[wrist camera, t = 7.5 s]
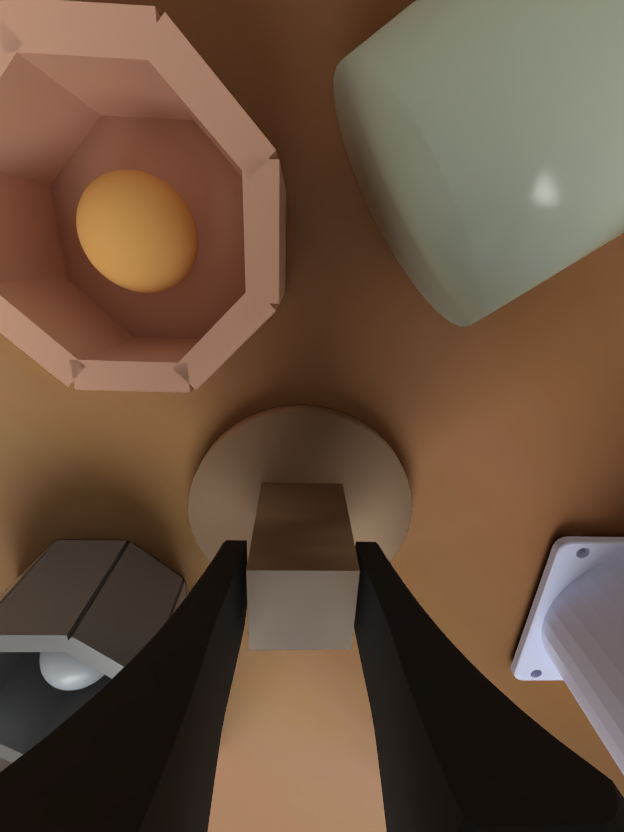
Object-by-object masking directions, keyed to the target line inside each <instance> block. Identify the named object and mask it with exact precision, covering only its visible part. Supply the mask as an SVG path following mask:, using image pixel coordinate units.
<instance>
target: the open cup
mask: <svg viewBox="0 0 624 832" xmlns="http://www.w3.org/2000/svg"><path fill="white" fill-rule="evenodd" d="M115 170H138V171H142V172H145V173H148V174H150V175H153V176H155V177H157V178H159V179H161V180H162V181H164V182H165V183H167V184H168V185H169V186H170V187H172V188H173V189H174V190H175V191H176V192H177V193H178V194H179V195H180V196H181V198H182V199H183V200H184V202H185V203H186V205H187V206H188V208H189V210H190V212H191V214H192V216H193V218H194V221H195V224H196V228H197V233H198V253H197V257H196V260H195V263H194V265H193V267H192V269H191V271H190V272H189V273H188V275H187V276H186V277H185V278H184V279H183V280H182V281H181V282H180V283H179V284H177V285H176V286H174V287H172V288H170V289H167V290H164V291H161V292H155V293H142V292H136V291H131V290H128V289H126V288H123V287H121V286H119V285H117V284H115V283H113V282H112V281H110V280H109V279H107V278H106V277H105V276H104V275H102V274H101V273H100V272H99V271H98V270H97V269H96V268H95V267H94V266H93V264H92V263H91V262H90V260H89V259H88V257H87V256H86V254H85V252H84V250H83V248H82V246H81V243H80V240H79V237H78V233H77V227H76V213H77V207H78V204H79V201H80V198H81V196H82V194H83V192H84V191H85V189H86V188H87V187H88V185H89V184H90V183H91V182H92V181H94V180H95V179H96V178H98V177H100V176H101V175H103V174H105V173H108V172H111V171H115ZM285 292H286V189H285V184H284V179H283V174H282V170H281V165H280V160H279V159H278V156H277V152H276V149H275V148H274V147H273V145H272V144H271V143H270V142H269V140H268V139H267V138H266V137H265V135H264V134H263V133H262V132H261V131H260V129H259V128H258V127H257V126H256V124H255V123H254V122H253V121H252V119H251V118H250V117H249V116H248V114H247V113H246V112H245V111H244V109H243V108H242V107H241V106H240V105H239V103H238V102H237V101H236V100H235V98H234V97H233V96H232V95H231V93H230V92H229V91H228V90H227V88H226V87H225V86H224V85H223V83H222V82H221V81H220V80H219V78H218V77H217V76H216V75H215V74H214V72H213V71H212V70H211V69H210V67H209V66H208V65H207V64H206V62H205V61H204V60H203V59H202V57H201V56H200V55H199V54H198V52H197V51H196V50H195V49H194V48H193V46H192V45H191V44H190V43H189V41H188V40H187V39H186V38H185V36H184V35H183V34H182V33H181V31H180V30H179V29H178V28H177V26H176V25H175V24H174V23H173V21H172V20H171V19H170V18H169V17H168V15H167V14H166V13H165V12H164V13H163V15H162V16H160V14H159V12H158V10H157V9H156V7H155V6H144V5H129V4H113V3H97V2H81V1H66V0H0V333H1V334H2V335H4V336H5V337H6V338H7V339H9V340H10V341H11V342H12V343H14V344H15V345H16V346H17V347H19V348H20V349H21V350H22V351H24V352H25V353H26V354H27V355H29V356H30V357H31V358H32V359H34V360H35V361H36V362H37V363H39V364H40V365H41V366H42V367H44V368H45V369H46V370H47V371H49V372H50V373H51V374H52V375H54V376H55V377H56V378H57V379H59V380H60V381H61V382H62V383H64V384H65V385H66V386H67V387H69V386H71V385H73V384H74V386H75V390H108V391H147V392H186V393H190V392H191V391H192V390H193V389H196V390H197V389H198V388H199V387H200V386H201V385H202V384H203V383H204V382H205V381H206V380H207V379H208V378H209V377H210V376H211V375H212V374H213V373H214V372H215V371H216V370H217V369H218V368H219V367H220V366H221V365H222V364H223V363H224V362H225V361H226V360H227V359H228V358H229V357H230V356H231V355H232V354H233V353H234V352H235V351H236V350H237V349H238V348H239V347H240V346H241V345H242V344H243V343H244V342H245V341H246V340H247V339H248V338H249V337H250V336H251V335H252V334H253V333H254V332H255V331H256V330H257V329H258V328H259V327H260V326H261V325H262V324H263V323H264V322H265V321H266V320H267V319H268V318H269V317H270V316H271V315H272V314H273V313H274V312H275V311H276V310H277V308H278V306H279V305H280V303H281V301H282V299H283V296H284V294H285Z"/></svg>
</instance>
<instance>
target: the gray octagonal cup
mask: <svg viewBox="0 0 624 832" xmlns="http://www.w3.org/2000/svg"><path fill="white" fill-rule="evenodd" d="M182 580H183V578H182V577H180V576H179V575H178V574H176V573H175V572H173V571H172V570H170V569H169V568H168V567H166V566H165V565H163V564H162V563H160V562H159V561H157V560H156V559H155V558H153V557H152V556H150V555H149V554H147V553H146V552H145V551H143V550H142V549H140V548H139V547H137V546H136V545H135V544H133V543H132V542H130V543H129V544H128V545H127V541H125V540H57V541H56V542H55V541H54V542H53V543H52V544H51V545H50V546H49V547H48V548H47V549H46V550H45V551H44V552H43V553H42V554H41V555H40V556H39V557H37V558H36V559H35V560H34V561H33V562H32V563H31V564H30V565H29V566H28V567H27V568H26V569H25V570H24V571H23V572H22V573H21V574H20V575H19V576H18V577H17V578H16V579H15V580H14V582H13V583H12V584H11V585H10V586H9V587H8V588H7V589H6V590H5V591H4V593H3V594H2V595H1V596H0V758H2V759H5V760H7V761H9V762H11V763H13V762H14V761H15V760H17V759H18V758H19V757H21V756H22V755H23V754H24V753H26V752H27V751H28V750H30V749H31V748H32V747H34V746H35V745H36V744H37V743H39V742H40V741H41V740H42V739H44V738H45V737H46V736H47V735H49V734H50V733H51V732H52V731H53V730H55V729H56V728H57V727H58V726H59V725H60V724H62V723H63V722H64V721H65V720H66V719H67V718H69V717H70V716H71V715H72V714H73V713H74V712H76V711H77V710H78V709H79V708H80V707H81V706H82V705H84V704H85V703H86V702H87V701H88V700H89V699H91V698H92V697H93V696H94V695H95V694H96V693H97V692H98V691H99V690H101V689H102V688H103V687H104V686H105V685H106V684H107V683H108V682H109V681H110V680H111V679H112V678H113V677H114V676H115V675H116V674H117V673H118V672H119V671H120V670H121V669H122V668H123V667H124V666H125V665H126V664H127V663H129V662H130V661H131V660H132V659H133V658H134V657H135V655H136V654H137V653H138V652H139V651H140V650H141V649H142V648H143V647H144V646H145V645H146V644H147V643H148V642H149V641H150V640H151V638H152V637H153V636H154V635H155V634H156V633H157V632H158V631H159V629H160V628H161V627H162V626H163V625H164V624H165V622H166V621H167V620H168V619H169V618H170V616H171V615H172V614H173V613H174V611H175V610H176V609H177V608H178V607H179V605H180V604H181V603H182V602H183V600H184V599H185V598H186V597H187V593H186V585H185V581H182ZM40 652H65V653H67V654H69V655H70V656H72V657H74V658H76V659H78V660H79V661H81V662H83V663H85V664H87V665H88V666H90V667H92V668H94V669H96V670H97V671H99V672H101V673H103V674H104V676H103V677H101V678H100V679H99V680H98V681H96V682H95V683H93V684H91V685H89V686H87V687H85V688H82V689H78V690H69V691H68V690H61V689H57V688H55V687H53V686H52V685H50V684H49V683H48V682H47V681H46V680H45V679H44V677H43V675H42V673H41V669H40V663H39V657H40Z"/></svg>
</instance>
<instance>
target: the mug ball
mask: <svg viewBox="0 0 624 832" xmlns="http://www.w3.org/2000/svg"><path fill="white" fill-rule="evenodd" d="M39 663H40V669H41V673H42V675H43V677H44V679H45V680H46V681H47V682H48V683H49V684H50V685H52V686H53V687H55V688H57V689H61V690H68V691H69V690H78V689H82V688H85V687H87V686H89V685H91V684H93V683H95V682H96V681H98V680H99V679H100V678H101V677H103V676H104V674H103V673H101V672H99V671H97V670H96V669H94V668H92V667H90V666H88V665H87V664H85V663H83V662H81V661H79V660H78V659H76V658H74V657H72V656H70V655H69V654H67V653H65V652H40V657H39Z"/></svg>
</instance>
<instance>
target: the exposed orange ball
mask: <svg viewBox="0 0 624 832" xmlns="http://www.w3.org/2000/svg"><path fill="white" fill-rule="evenodd" d="M76 227H77V233H78V237H79V240H80V243H81V246H82V248H83V250H84V252H85V254H86V256H87V257H88V259H89V260H90V262H91V263H92V264H93V266H94V267H95V268H96V269H97V270H98V271H99V272H100V273H101V274H102V275H104V276H105V277H106V278H107V279H109V280H110V281H112V282H113V283H115V284H117V285H119V286H121V287H123V288H126V289H128V290H131V291H136V292H142V293H155V292H161V291H164V290H167V289H170V288H172V287H174V286H176V285H177V284H179V283H180V282H181V281H182V280H183V279H184V278H185V277H186V276H187V275H188V273H189V272H190V271H191V269H192V267H193V265H194V263H195V260H196V257H197V253H198V233H197V228H196V224H195V221H194V218H193V216H192V214H191V212H190V210H189V208H188V206H187V205H186V203H185V202H184V200H183V199H182V198H181V196H180V195H179V194H178V193H177V192H176V191H175V190H174V189H173V188H172V187H170V186H169V185H168V184H167V183H165V182H164V181H162V180H161V179H159V178H157V177H155V176H153V175H150V174H148V173H145V172H142V171H138V170H115V171H111V172H108V173H105V174H103V175H101V176H100V177H98V178H96V179H95V180H94V181H92V182H91V183H90V184H89V185H88V187H87V188H86V189H85V191H84V192H83V194H82V196H81V198H80V201H79V204H78V207H77V213H76Z"/></svg>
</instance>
